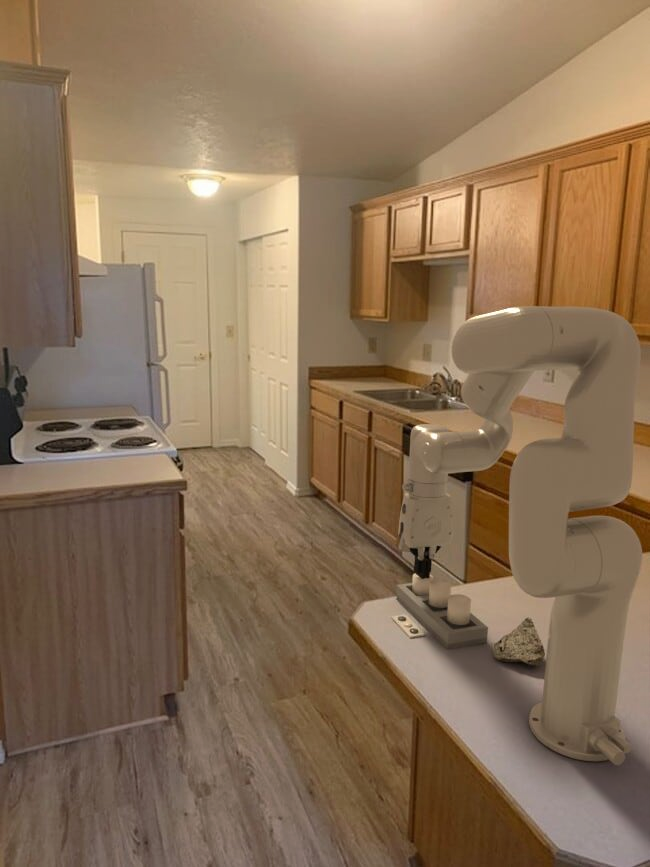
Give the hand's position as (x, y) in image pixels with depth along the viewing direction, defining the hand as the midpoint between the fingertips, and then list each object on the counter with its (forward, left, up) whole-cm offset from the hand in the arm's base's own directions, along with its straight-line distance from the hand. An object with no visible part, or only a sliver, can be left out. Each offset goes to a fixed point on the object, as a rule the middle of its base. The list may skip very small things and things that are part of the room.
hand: (422, 575), depth 130 cm
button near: (-14, 0, -3) cm, 14 cm away
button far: (0, 0, -4) cm, 4 cm away
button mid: (-7, 0, -3) cm, 8 cm away
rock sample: (-24, -6, -6) cm, 26 cm away
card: (-8, +7, -6) cm, 12 cm away
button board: (-7, 0, -6) cm, 9 cm away
